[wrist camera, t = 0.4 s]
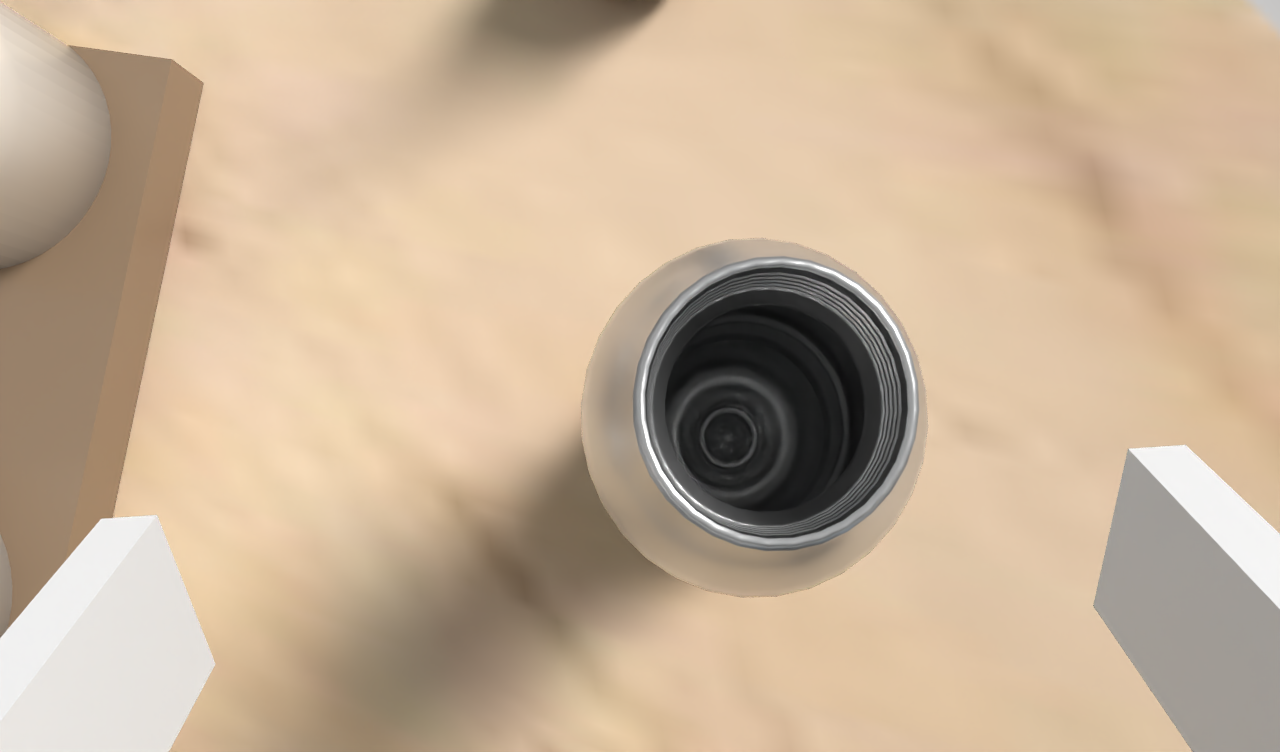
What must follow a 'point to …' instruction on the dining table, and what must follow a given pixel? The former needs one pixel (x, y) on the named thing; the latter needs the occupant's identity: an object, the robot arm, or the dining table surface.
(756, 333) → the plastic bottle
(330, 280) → the dining table surface
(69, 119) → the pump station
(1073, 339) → the dining table surface
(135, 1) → the dining table surface
